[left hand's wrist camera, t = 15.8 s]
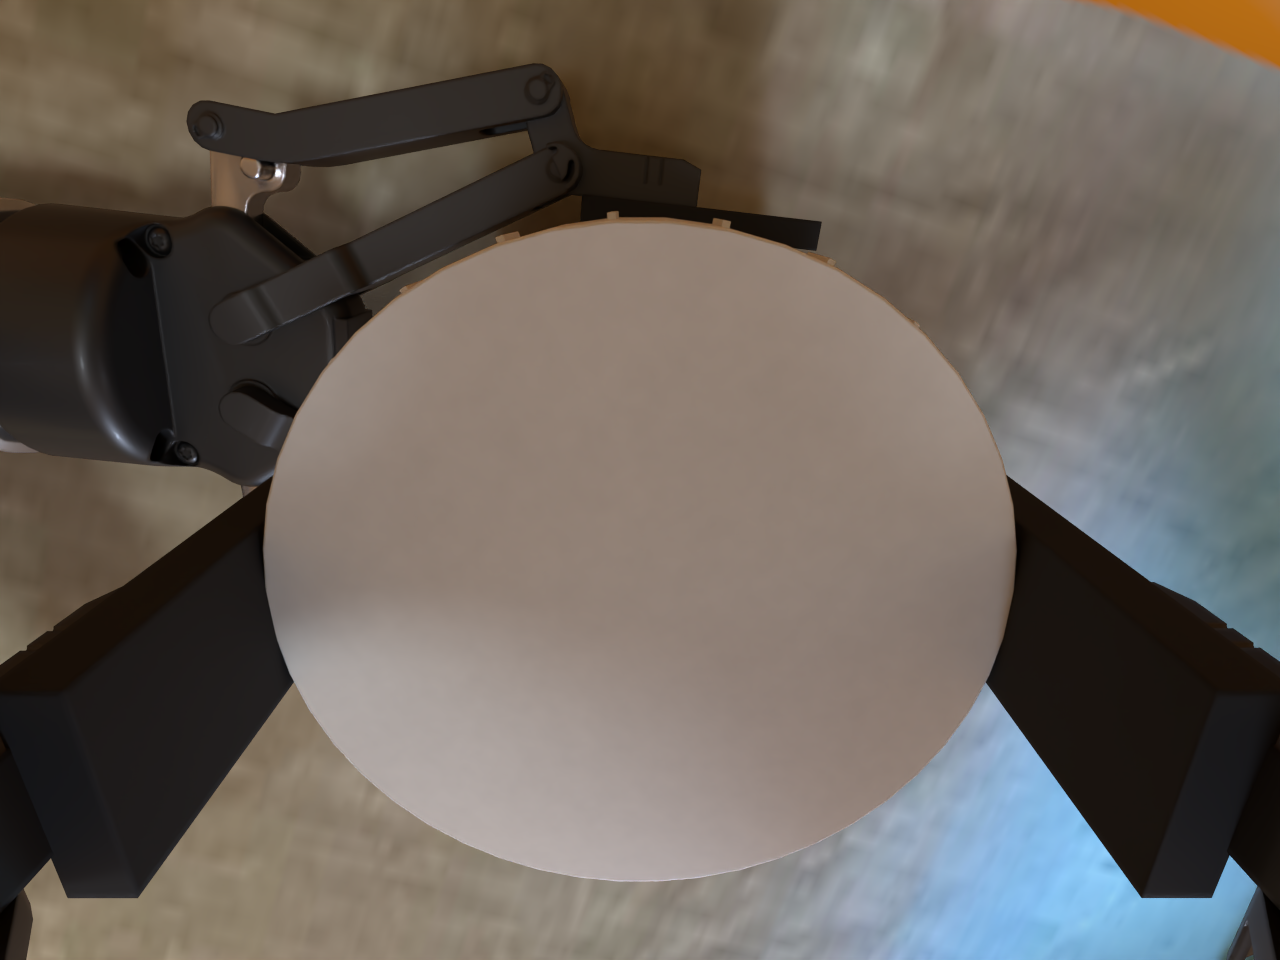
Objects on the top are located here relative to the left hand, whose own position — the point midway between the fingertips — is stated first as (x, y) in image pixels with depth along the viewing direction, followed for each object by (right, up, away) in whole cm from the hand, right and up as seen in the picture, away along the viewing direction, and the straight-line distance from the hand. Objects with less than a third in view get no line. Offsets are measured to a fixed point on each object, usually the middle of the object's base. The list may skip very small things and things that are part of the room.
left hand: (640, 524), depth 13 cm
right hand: (+4, +3, +9) cm, 11 cm away
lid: (0, -1, -3) cm, 3 cm away
